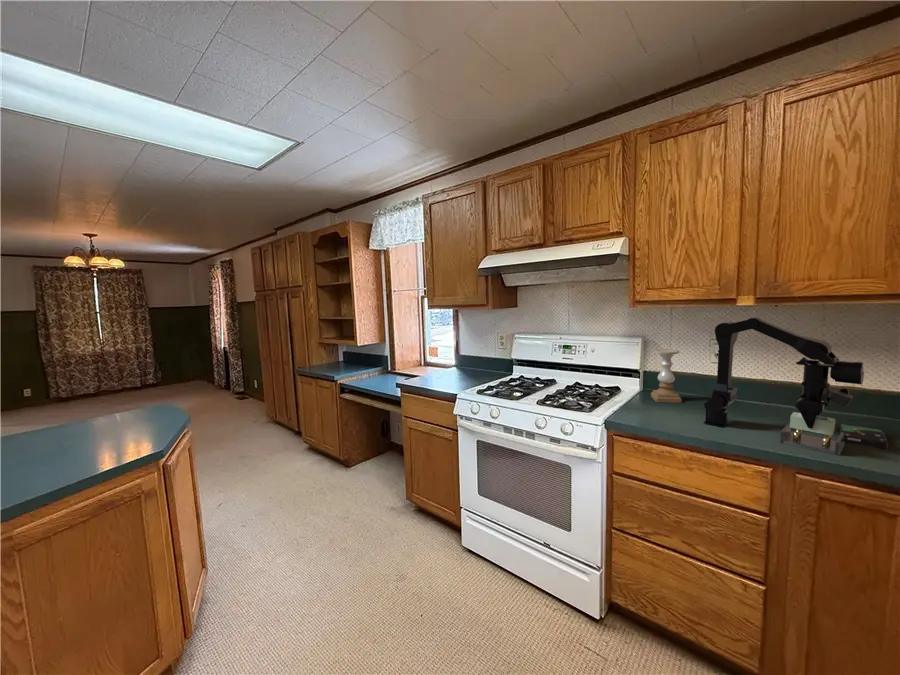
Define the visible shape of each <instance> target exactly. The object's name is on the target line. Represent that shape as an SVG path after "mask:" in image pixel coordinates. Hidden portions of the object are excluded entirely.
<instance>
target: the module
mask: <svg viewBox="0 0 900 675" xmlns="http://www.w3.org/2000/svg"><path fill="white" fill-rule="evenodd" d="M789 420H790V421H789V424H790V428H791V429H795V430H796V429H800V430H802V431H807V432H812V433H817V434H823V435H825V434H827V435H831V436H833V435H834V432H835V429H836V418H834V417H829V416H823V415H819V416H818V415H817V417H816V420H815V423H814V426H813V428H808V427H807V425H806V423H805V421H804V419H803V417H802V415H801V413H800V412H796V411H793V412H792V413H791V415H790V419H789Z"/></svg>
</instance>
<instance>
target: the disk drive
mask: <svg viewBox="0 0 900 675" xmlns="http://www.w3.org/2000/svg"><path fill="white" fill-rule="evenodd" d="M840 433H843V434H844V442H843V443H848V444H855V445H861V446H866V447H873V448H877V449H885V450H888V449H889V441H888V439H887V437H886V434H885V431H884V429H881V428H873V427H868V426H867V427H866V426H858V425H849V424H845V423H842V424H840V426H839V434H840Z"/></svg>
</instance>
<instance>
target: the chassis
mask: <svg viewBox="0 0 900 675" xmlns="http://www.w3.org/2000/svg"><path fill="white" fill-rule="evenodd" d="M802 432H803V430H800V429H795V431H793V432H792V428H790V423H787V424H786V425H785V426H784V427H783V429H781V430H780V439H779V441H778V442H779V443H781V444H785V445H789V446H794V447H799V448H801V449H802V448H804V449H808V450H813V451H816V450H817V451H818V452H821V451H822V452H823V453H827V454H830V453H831V454H830V455H836V456H840V455H841V453H842V451H843V449H844V447H845V442H844V434H843V433H840V432H839V435H838V437H837V439H836V440H833V439H831V438H832V435H827V434H824V437H819V436H817V437H816V436H811V435H807V434H802ZM817 451H816V452H817Z"/></svg>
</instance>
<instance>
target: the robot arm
mask: <svg viewBox="0 0 900 675" xmlns="http://www.w3.org/2000/svg"><path fill="white" fill-rule="evenodd" d="M749 330H754V331H756V332H757V333H761V334H763V335H765V336H766V337H770V338H771V339H774V340H776V341H778V342H781V343H784V344H786V345H788V346H789V347H791V348H793V349H795V350H796V351H797V352H799V353H800V354H801V355H802V356H803V357H802V358H801V359H800V360H798V361H796V362H795V365H798V366H799V365H800V366H803V377H802V382H801V386H802V393H801V394H800V398H799V399H797V401H795V405H794V406H795V409H797V410H798V411H799V413H801V415H802V417H803V419H804V421H805V423H806V425H807V427H808V428H813V426H814V423H815V420H816V417H817V415H818V416H821V413H824V411H825V407H828V406H829V405H830V402H833V403H835V404H837V405H839V406H841V407H843V408H847V407H848V406H849V405H850V403H851V402H852V400H853V398H854V395H853V394H850V390H849V389H848V388H846V387H842V388H840V389H838V388H832V387H831V384H830V382H829V376H830V379H832V380H834V382H836V383H845V384H854V385H861V386H862V385H863V382H864V376H865V371H864V362H863V361H846V360H840V359H839V357H837V356H836V355H835V354H834V353H833V350H832V348H833V347H832V346H831V344H830V343H828V342H827V341H824V340H821V339H816V338H813V337H809V336H804V335H800V334H797V333H795V332H793V331H790V330H787V329H785V328H782V327H780V326H778V325H775V324H773V323H770V322H768V321H766V320H763V319H761V318H759V317H757V316H756V317H751V318H748V319H745V320H742V321H736V322H734V321H727V322H721V323H718V325H716V326H715V328H714V334H715V340H716V342H717V346H718V352H717V353H718V356H717V372H716V373H717V374H716V383H715V386H714V388H713V391H712V393H711V398H710V399H709V400H707V401H706V402H704V403H703V406H704V408H705V420H704V421H703V424H706V425H710V426H716V427H721V428H724V427H726V426H727V425H728V424H729V422H730V420H729V419H730V414H729V412H728V407H729V406H730V405H731V404H733V403H734V402H735V401H736V399H738V396H737V391H738V387H734V386H733V384H732V377H733V359H734V358H733V357H734V356H733V354H734V345H735V344H736V341H737V339H738V336H739V333H740V332H745V331H749ZM829 370H830V372H829ZM829 374H830V375H829Z"/></svg>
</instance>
